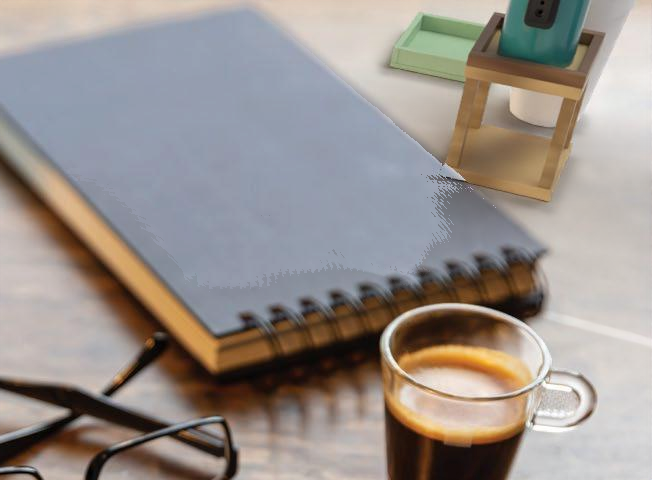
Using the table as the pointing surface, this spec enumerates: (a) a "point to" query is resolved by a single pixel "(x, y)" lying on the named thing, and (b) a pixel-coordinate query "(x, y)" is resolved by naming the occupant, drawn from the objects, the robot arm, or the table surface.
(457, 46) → the tray
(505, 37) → the teal rounded block
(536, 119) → the foam cup
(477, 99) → the stand
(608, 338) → the table surface
